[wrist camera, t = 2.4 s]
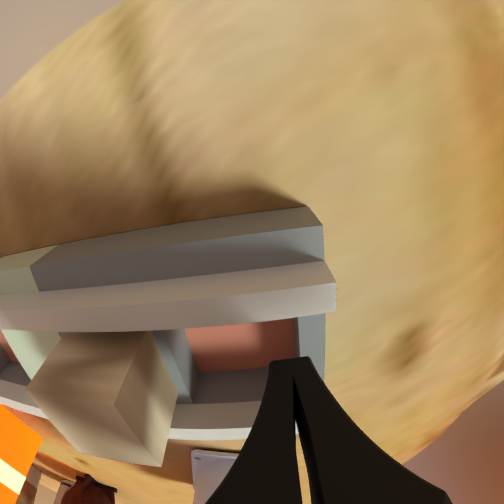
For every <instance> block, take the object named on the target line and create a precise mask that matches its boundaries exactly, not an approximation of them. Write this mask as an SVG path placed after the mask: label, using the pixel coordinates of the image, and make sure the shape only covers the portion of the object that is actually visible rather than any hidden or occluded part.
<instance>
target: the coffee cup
mask: <svg viewBox="0 0 504 504" xmlns="http://www.w3.org/2000/svg"><path fill="white" fill-rule="evenodd" d="M41 474H42V473H41V472H40V471H39V470H38V469H37V468H36V467H35V466H33V465H32V464H31V466H30V468H29V471H28V473H27V475H26V479H25V481H24V484H23V486H22V488H21V491H20V493H19V495H18V497H17V500H16V502H15V504H34V500H35V496H36V492H37V487H38V484H39V481H40V477H41Z"/></svg>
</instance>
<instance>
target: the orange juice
mask: <svg viewBox="0 0 504 504" xmlns="http://www.w3.org/2000/svg"><path fill="white" fill-rule="evenodd" d="M42 441H43V438H42V437H41V436H40V435H38V434H37V433H36V432H34V431H33V430H32V429H30V428H29V427H28V426H26V425H25V424H24V423H23V422H21V421H20V420H19V419H18V418H17V417H15V416H14V415H13V414H12V413H11V412H9V411H8V410H7V409H6V408H5V407H4V406H3V405H2V404H0V504H15V502H16V500H17V497H18V495H19V493H20V491H21V488H22V486H23V484H24V481H25V479H26V475H27V473H28V471H29V468H30V466H31V464H32V462H33V460H34V457H35V455H36V453H37V451H38V449H39V447H40V445H41V443H42Z"/></svg>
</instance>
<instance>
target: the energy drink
mask: <svg viewBox="0 0 504 504" xmlns="http://www.w3.org/2000/svg"><path fill="white" fill-rule="evenodd" d="M74 484H75V483H74V482H72V481H69V480H66V479H64V480H62V482H61V484H60V487H59V490H58V493H57V495H56V498H55V501H54V504H61V500H62V497H63V495H64V494H65V493H66V492H67V490H69V489H70V488H71V487H73V485H74Z"/></svg>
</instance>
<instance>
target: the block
mask: <svg viewBox="0 0 504 504" xmlns="http://www.w3.org/2000/svg"><path fill="white" fill-rule="evenodd" d="M25 390H26V391H27V392H28V394H29V395H30V396H31V398H32V399H33V400H34V402H35V403H36V404H37V406H38V407H39V408H40V409H41V411H42V412H43V413H44V414H45V415H46V417H47V418H48V419H49V420H50V421H51V423H52V424H53V425H54V426H55V427H56V428H57V430H58V431H59V432H60V433H61V434H62V435H63V436H64V437H65V438H66V439H67V440H68V442H69V443H70V444H71V445H72V446H73V447H74V448H75V449H76V450H77V451H78V452H81V453H85V454H89V455H93V456H97V457H102V458H106V459H111V460H116V461H122V462H128V463H134V464H140V465H148V466H156V467H162V463H163V458H164V454H165V449H166V444H167V440H168V435H169V431H170V426H171V422H172V417H173V413H174V409H175V404H176V400H177V396H178V392H177V390H176V388H175V386H174V384H173V381H172V379H171V377H170V375H169V372H168V370H167V368H166V365H165V363H164V361H163V358H162V356H161V353H160V351H159V349H158V346H157V344H156V341H155V339H154V336H153V333H152V331H125V332H66V333H65V334H64V335H63V337H62V338H61V339H60V341H59V342H58V343H57V345H56V346H55V348H54V349H53V350H52V352H51V353H50V354H49V356H48V357H47V359H46V360H45V361H44V363H43V364H42V366H41V367H40V368H39V370H38V371H37V373H36V374H35V376H34V377H33V379H32V380H31V382H30V383H29V385H28V386H27V388H26V389H25Z"/></svg>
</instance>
